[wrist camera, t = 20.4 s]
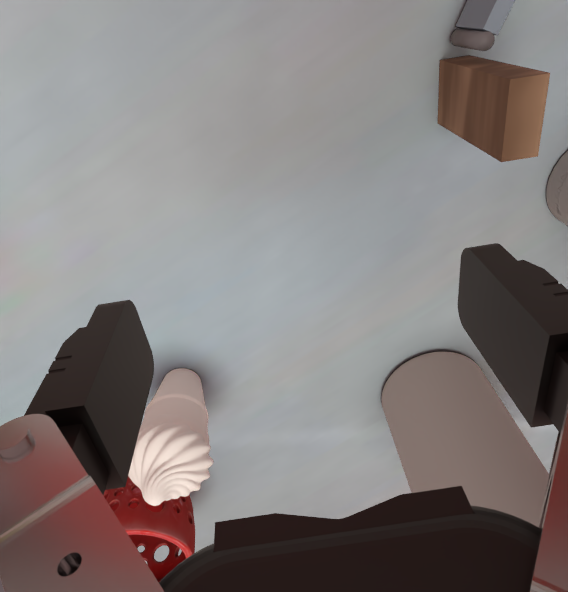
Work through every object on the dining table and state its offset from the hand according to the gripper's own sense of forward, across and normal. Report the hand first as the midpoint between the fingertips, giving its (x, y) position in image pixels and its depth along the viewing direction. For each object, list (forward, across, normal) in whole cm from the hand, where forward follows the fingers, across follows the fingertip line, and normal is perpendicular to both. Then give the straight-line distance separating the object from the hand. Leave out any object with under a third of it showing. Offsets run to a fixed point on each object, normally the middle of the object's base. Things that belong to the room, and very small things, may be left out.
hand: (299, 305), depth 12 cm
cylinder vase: (+32, -15, +36) cm, 51 cm away
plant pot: (+32, +22, +44) cm, 59 cm away
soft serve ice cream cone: (+32, +14, +29) cm, 46 cm away
